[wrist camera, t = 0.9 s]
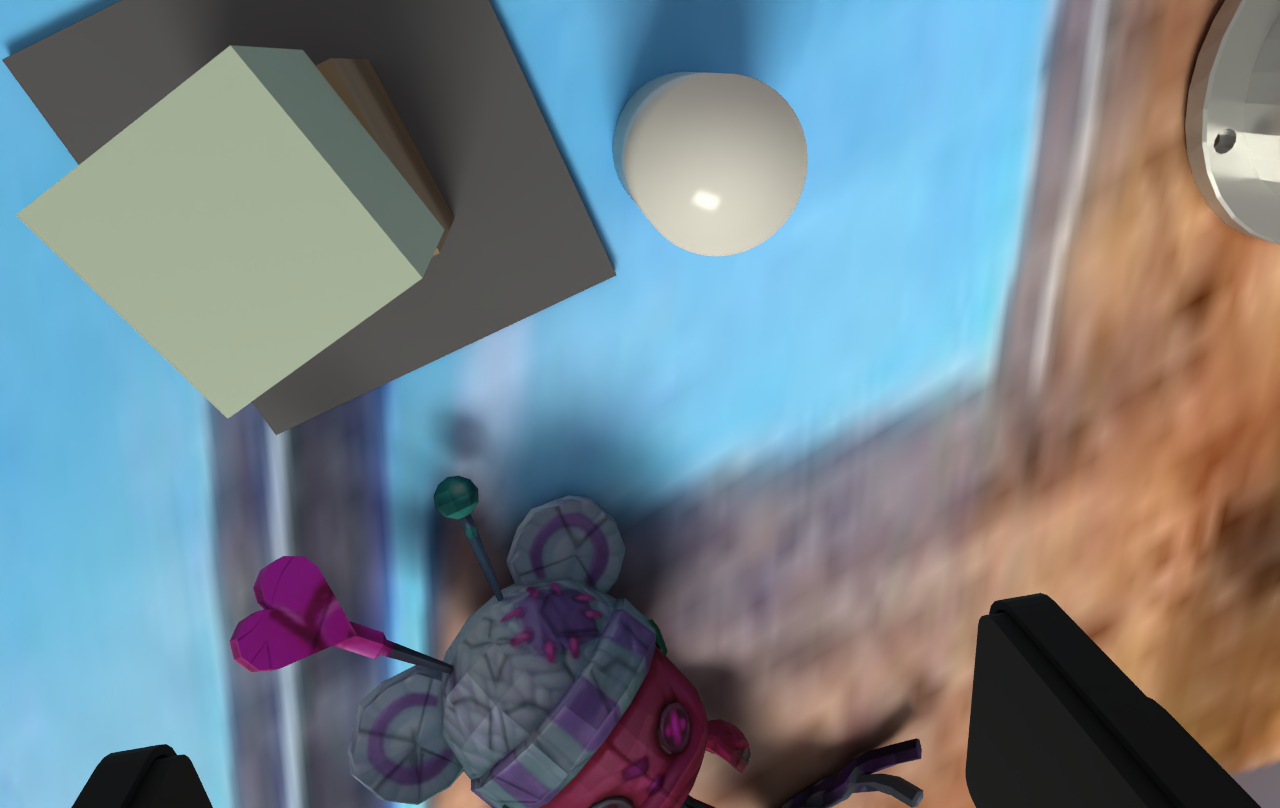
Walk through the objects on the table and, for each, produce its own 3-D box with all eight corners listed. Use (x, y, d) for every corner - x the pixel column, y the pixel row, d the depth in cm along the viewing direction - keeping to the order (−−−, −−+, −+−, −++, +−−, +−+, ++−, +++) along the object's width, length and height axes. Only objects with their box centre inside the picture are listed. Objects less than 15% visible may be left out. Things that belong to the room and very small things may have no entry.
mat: (421, -147, 24) (420, -150, 23) (615, 272, 29) (616, 275, 29) (9, 59, 24) (2, 59, 24) (279, 430, 30) (276, 435, 30)
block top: (303, 49, 20) (230, 45, 15) (444, 229, 22) (422, 278, 17) (137, 178, 21) (15, 215, 16) (291, 340, 23) (228, 418, 18)
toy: (849, 705, 45) (483, 313, 34) (994, 782, 37) (572, 297, 25) (673, 975, 40) (176, 619, 29) (794, 1133, 32) (162, 721, 20)
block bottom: (368, 59, 25) (331, 58, 20) (454, 218, 27) (440, 253, 22) (215, 134, 25) (140, 151, 20) (312, 285, 28) (266, 335, 23)
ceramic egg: (722, 45, 27) (774, 41, 21) (770, 183, 29) (829, 212, 23) (588, 110, 27) (605, 121, 22) (646, 242, 29) (675, 283, 24)
